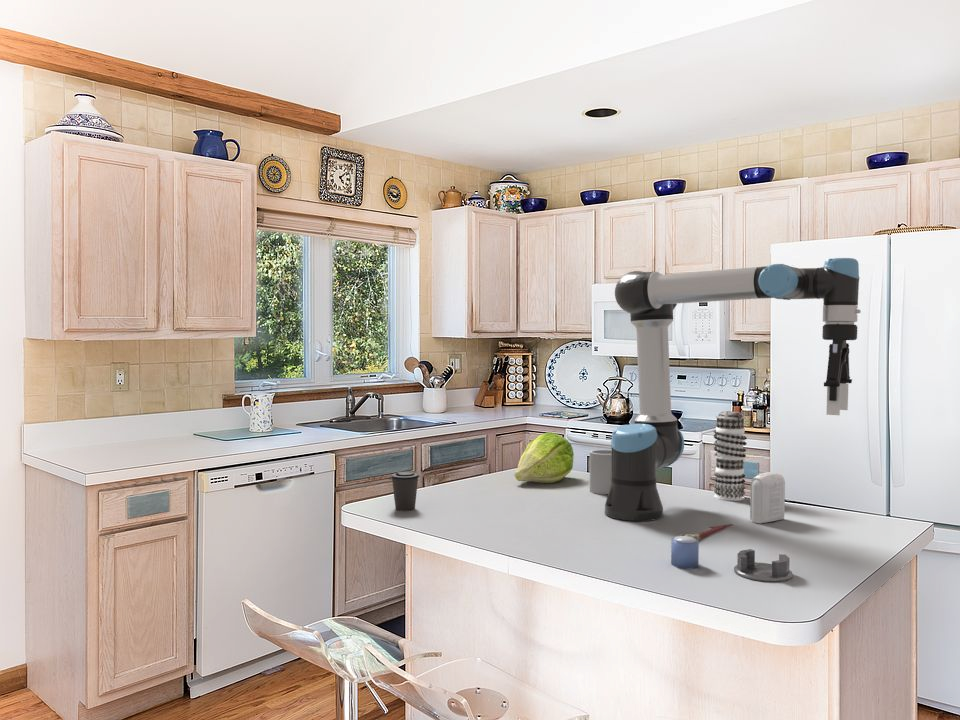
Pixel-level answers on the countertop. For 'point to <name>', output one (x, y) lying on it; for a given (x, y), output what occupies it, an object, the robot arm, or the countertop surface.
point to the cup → (600, 471)
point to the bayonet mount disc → (762, 568)
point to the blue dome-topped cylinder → (685, 552)
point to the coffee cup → (405, 490)
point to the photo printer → (767, 497)
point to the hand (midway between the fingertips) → (837, 412)
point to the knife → (707, 532)
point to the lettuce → (545, 459)
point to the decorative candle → (729, 456)
